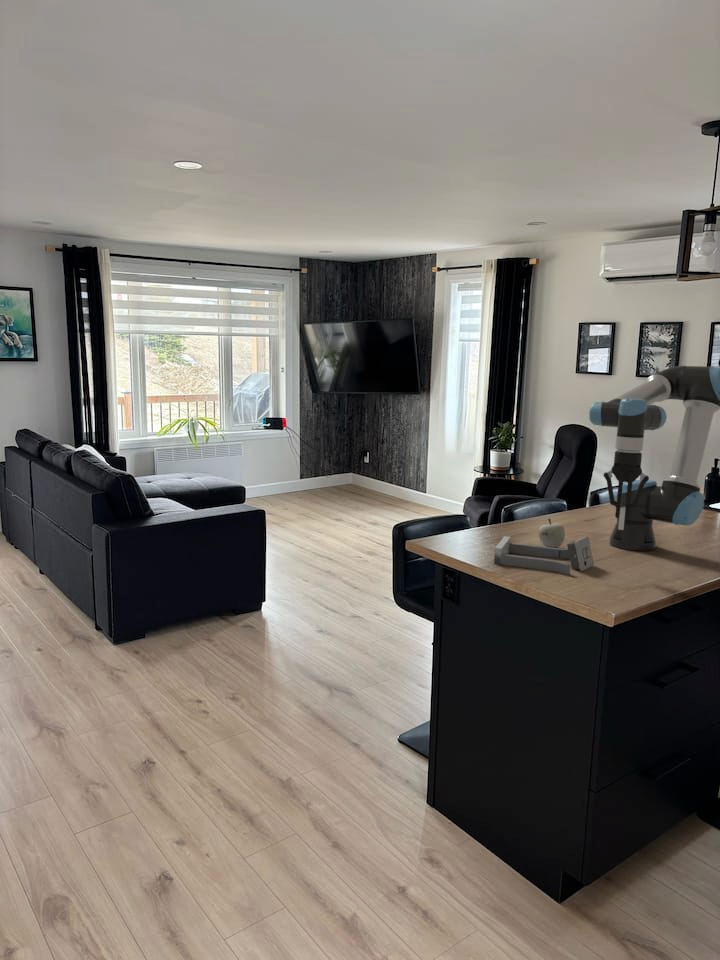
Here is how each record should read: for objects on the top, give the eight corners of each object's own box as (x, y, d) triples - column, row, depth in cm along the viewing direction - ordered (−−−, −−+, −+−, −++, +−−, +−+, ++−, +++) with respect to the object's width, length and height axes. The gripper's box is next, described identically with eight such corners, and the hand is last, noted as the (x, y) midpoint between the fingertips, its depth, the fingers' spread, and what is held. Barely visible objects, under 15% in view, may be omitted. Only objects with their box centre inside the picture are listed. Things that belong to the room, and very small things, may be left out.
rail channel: (575, 557, 229) (576, 542, 228) (569, 575, 210) (570, 558, 209) (504, 549, 237) (505, 534, 237) (492, 565, 218) (493, 549, 217)
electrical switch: (582, 572, 214) (582, 541, 213) (566, 570, 217) (565, 540, 216) (594, 565, 221) (593, 536, 220) (578, 564, 224) (577, 535, 223)
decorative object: (562, 552, 236) (565, 523, 234) (536, 549, 238) (538, 520, 237) (564, 546, 244) (567, 518, 242) (538, 543, 247) (540, 515, 245)
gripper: (652, 451, 210) (643, 528, 214) (605, 448, 215) (598, 524, 218) (652, 454, 203) (644, 534, 207) (604, 450, 208) (597, 528, 211)
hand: (620, 528), depth 212 cm, fingers closed
